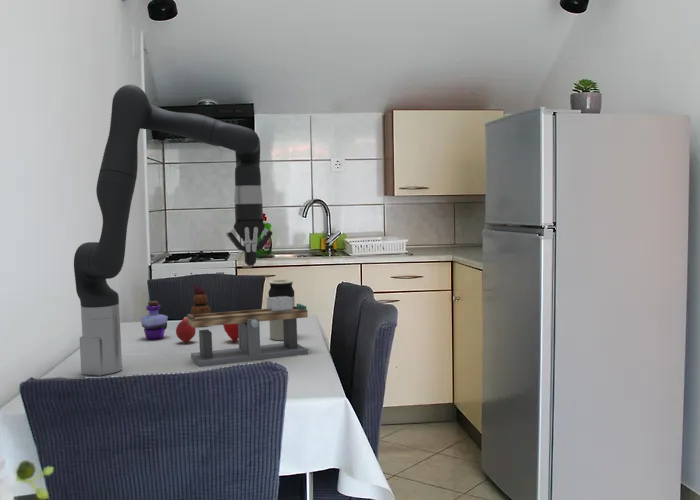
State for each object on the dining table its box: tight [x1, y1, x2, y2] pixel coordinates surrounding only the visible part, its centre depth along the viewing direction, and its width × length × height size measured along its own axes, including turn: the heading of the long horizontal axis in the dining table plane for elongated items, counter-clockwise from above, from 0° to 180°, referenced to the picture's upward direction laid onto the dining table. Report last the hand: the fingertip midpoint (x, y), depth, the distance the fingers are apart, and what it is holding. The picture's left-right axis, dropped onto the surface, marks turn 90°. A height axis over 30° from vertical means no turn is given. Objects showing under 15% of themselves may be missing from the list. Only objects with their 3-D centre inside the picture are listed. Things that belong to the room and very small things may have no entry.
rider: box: [266, 296, 293, 313], centre depth 191 cm, size 6×5×4 cm
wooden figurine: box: [190, 283, 212, 315], centre depth 235 cm, size 7×6×15 cm
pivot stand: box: [190, 318, 309, 367], centre depth 187 cm, size 30×14×11 cm, turn 113°
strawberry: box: [223, 310, 239, 343], centre depth 206 cm, size 6×8×10 cm
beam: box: [186, 303, 309, 328], centre depth 187 cm, size 32×8×3 cm, turn 113°
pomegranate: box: [175, 316, 196, 344], centre depth 207 cm, size 6×6×8 cm
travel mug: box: [268, 279, 296, 342], centre depth 210 cm, size 8×8×18 cm
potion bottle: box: [139, 300, 169, 341], centre depth 215 cm, size 9×9×12 cm
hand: (250, 265), depth 186 cm, fingers closed
